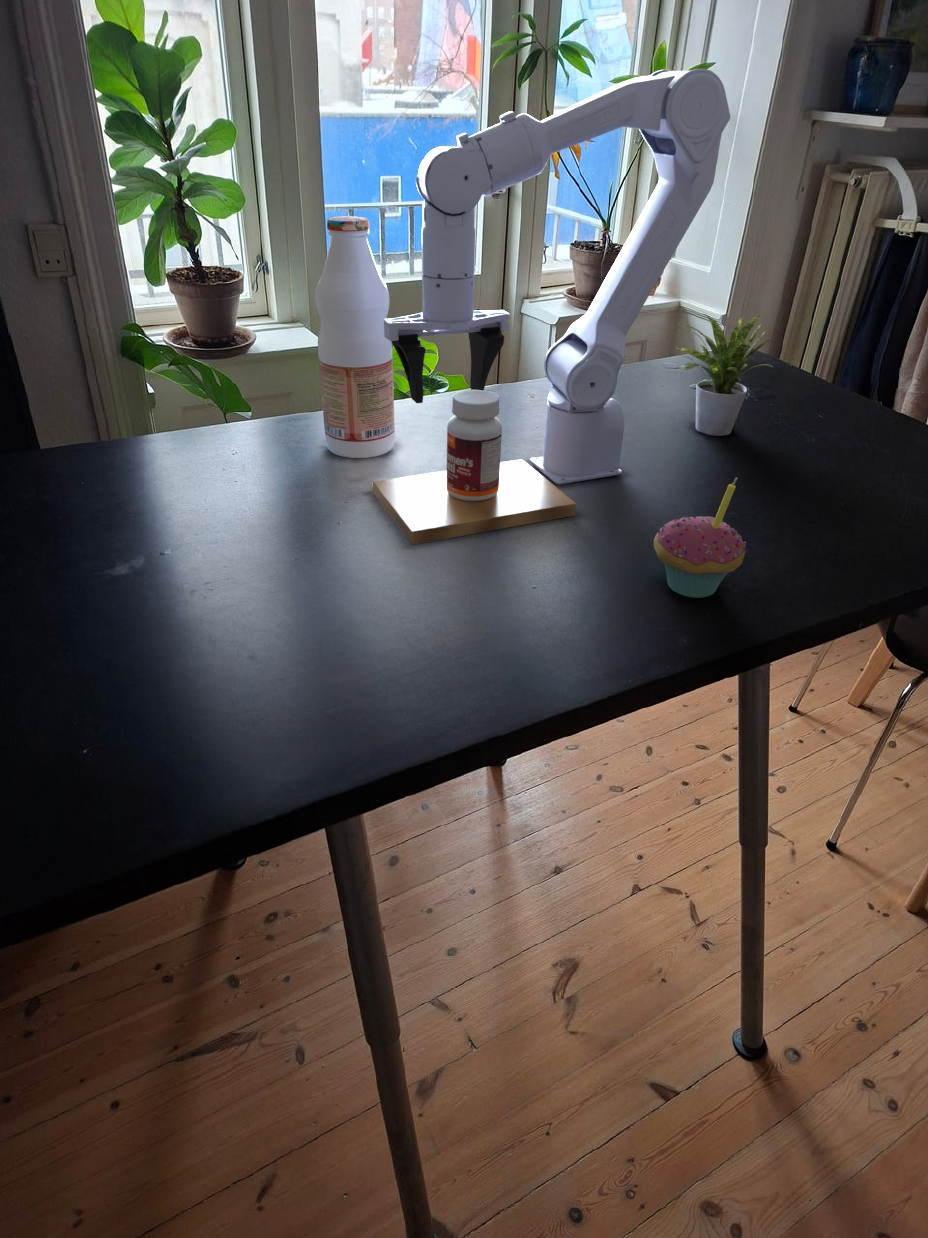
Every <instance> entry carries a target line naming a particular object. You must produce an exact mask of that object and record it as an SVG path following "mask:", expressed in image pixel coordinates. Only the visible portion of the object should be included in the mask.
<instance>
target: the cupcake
mask: <svg viewBox="0 0 928 1238" xmlns="http://www.w3.org/2000/svg"><path fill="white" fill-rule="evenodd" d="M738 479H739V478H738V477H735V478H734V479H733V482H732V483H729V484H728V485H727V488H726V491H725V493H724V495H723V498H722V501H721V503H720V505H719V507H718V510H717V513H716V515H715V517H713V516H709V515H706V516H705V515H702V516H701V515H700V516H695V515H693V516H691V515H687V516H682V517H681V516H680V517H679V518H673V519H672V520H671V521H668V522H667V523H664V524H662V526H661V527H659V529H658V530H657V532H656V534H655V537H654V539H653V548H654V551H655V552H656V557H657V558H658V559H659V561H661V562H662V563H663V564H664V569H665V575H666V582H667V585H668V587H669V588H670V589H671V590H672V591H673V592H675V593H676V594H679V595H681V596H684V597H688V598H694V599H696V598H697V599H698V598H699V599H701V598H707V597H711V596H712V595H714V594H715V593H716V591H717V590H718V588H719V586H720V585H721V583H722V582H723V580H724V578H725V577H726V576H727V575H728V574H729V573H733V572H734V571H736V570H737V569H738V568H739V567H740V566H741V565H742V564H743V561H744V558H745V554H746V551H747V549H746V548H747V547H746V546H747V545H746V544H747V541H745V540H744V539H743V537H742V536H741V534H740V533H738V531H737V529H735V528H734V527H731V526H730V524H729V523H727V522H725V521H723V519H724V517H725V514H726V512H727V509H728V507H729V505H730V502H731V499H732V497H733V494H734V493H735V490H736V487H737V486H736V485H735V484H736V483H737V481H738Z"/></svg>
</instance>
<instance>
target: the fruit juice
mask: <svg viewBox="0 0 928 1238" xmlns="http://www.w3.org/2000/svg"><path fill="white" fill-rule="evenodd" d="M370 228H371V227H370V221H369V219H368V218H367V217H363V216H362V217H361V216H353V215H345V216H344V215H341V216H340V215H339V216H331V217H328V219H327V221H326V229H327V235H328V236H330V242H329V246H328V249H327V254H326V259H325V262H324V267H323V270H322V273H321V276H320V279H319V280H318V283H317V285H316V287H315V292H314V303H315V304H314V305H315V309H316V312H317V314H318V317H319V320H320V328H319V331H318V333H317V334H318V335H317V357H318V368H319V379H320V381H319V382H320V392H321V405H322V417H323V430H324V440H325V445H326V447H327V449H328V451H329V452H330V453H332V454H334V455H337V456H339V457H344V458H348V459H349V458H350V459H367V458H374V457H379V456H382V455H384V454H387V453H389V452H390V451H391V450H392V449H393V448H394V446H395V442H396V427H395V425H396V424H395V395H394V393H395V391H394V367H393V366H394V363H393V360H394V359H393V357H394V355H393V344H392V341H389V340H388V339H386V338H385V337H384V319H388V314H389V309H390V304H391V303H390V292H389V289H388V286H387V283H385V281H384V279H383V278H382V276H381V274H380V272H379V270H378V269H379V268H378V266H377V265H376V261H375V258H374V256H373V253H372V250H371V247H370V245H369V241H368V235H370Z"/></svg>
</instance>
